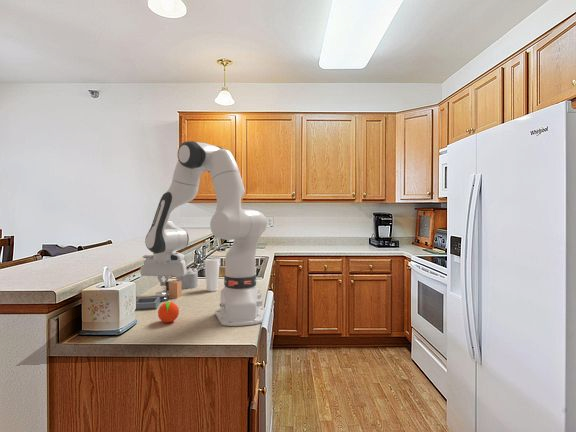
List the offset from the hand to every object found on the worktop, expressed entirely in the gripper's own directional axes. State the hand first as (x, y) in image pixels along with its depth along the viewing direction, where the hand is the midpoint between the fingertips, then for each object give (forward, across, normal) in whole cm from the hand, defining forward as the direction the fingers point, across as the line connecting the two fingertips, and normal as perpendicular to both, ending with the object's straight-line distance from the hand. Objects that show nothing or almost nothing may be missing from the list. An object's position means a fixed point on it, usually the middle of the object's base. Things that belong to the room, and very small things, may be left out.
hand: (163, 285), depth 158 cm
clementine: (+4, +16, -38) cm, 42 cm away
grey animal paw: (+5, +5, +19) cm, 20 cm away
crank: (+3, +3, -5) cm, 6 cm away
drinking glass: (+4, +20, +8) cm, 23 cm away
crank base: (+4, +2, -9) cm, 10 cm away
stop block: (+4, +7, -4) cm, 9 cm away
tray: (+4, 0, -19) cm, 19 cm away
